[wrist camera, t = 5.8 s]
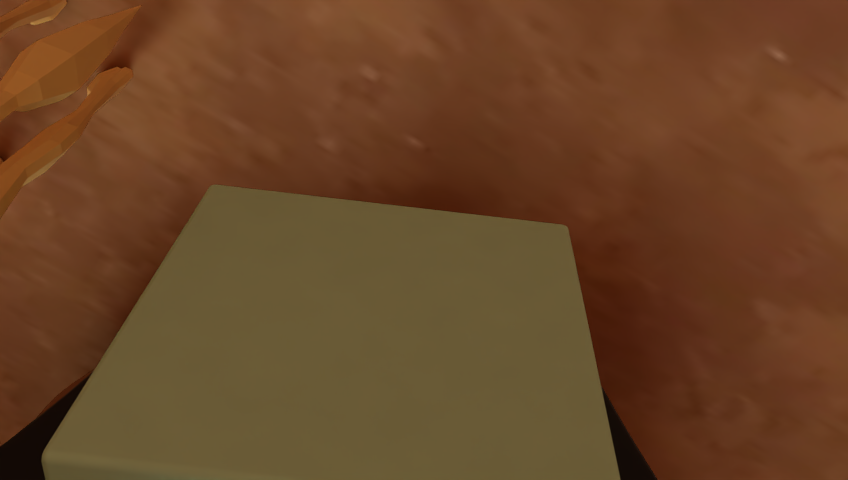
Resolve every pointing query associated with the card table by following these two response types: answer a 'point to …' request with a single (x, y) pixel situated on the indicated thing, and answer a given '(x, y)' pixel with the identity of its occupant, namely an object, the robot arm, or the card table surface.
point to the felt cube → (346, 352)
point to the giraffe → (56, 85)
